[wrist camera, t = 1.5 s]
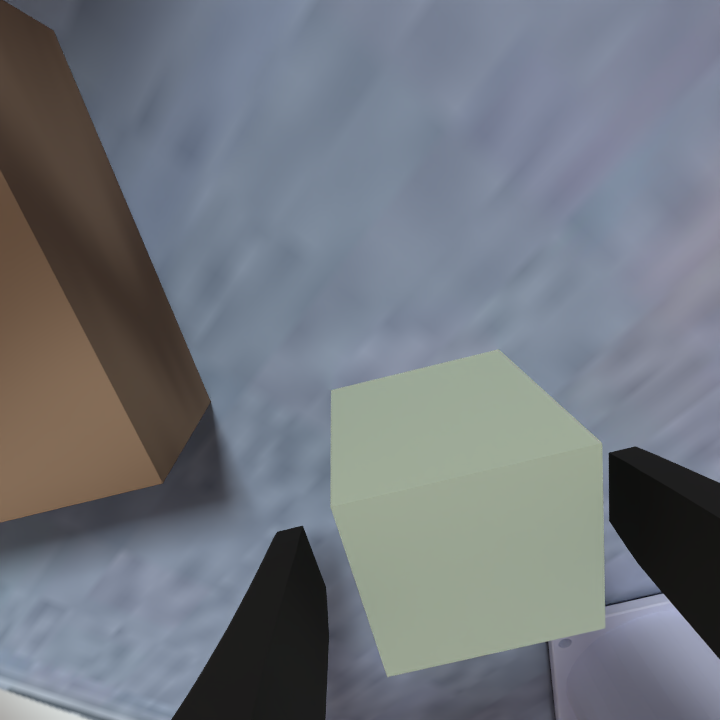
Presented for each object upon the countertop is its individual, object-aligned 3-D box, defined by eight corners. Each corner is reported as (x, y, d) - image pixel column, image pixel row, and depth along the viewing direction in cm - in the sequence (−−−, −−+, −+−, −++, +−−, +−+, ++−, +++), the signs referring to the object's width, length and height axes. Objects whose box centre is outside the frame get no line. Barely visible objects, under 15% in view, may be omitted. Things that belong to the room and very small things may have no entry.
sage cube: (513, 484, 14) (605, 628, 9) (368, 518, 14) (387, 677, 9) (497, 348, 12) (601, 442, 7) (331, 388, 12) (330, 507, 8)
